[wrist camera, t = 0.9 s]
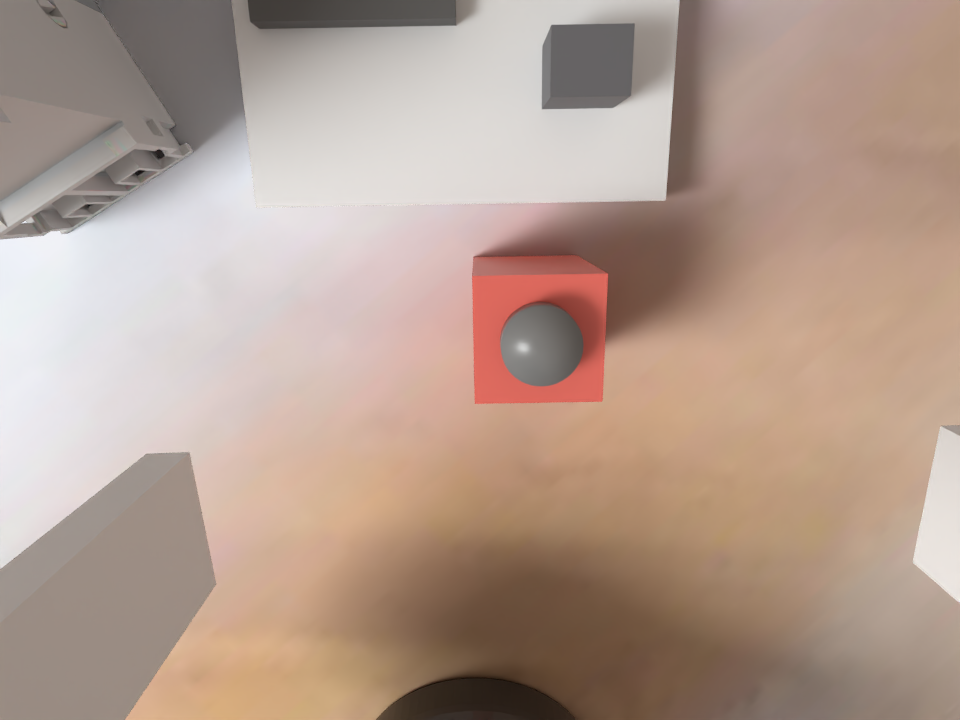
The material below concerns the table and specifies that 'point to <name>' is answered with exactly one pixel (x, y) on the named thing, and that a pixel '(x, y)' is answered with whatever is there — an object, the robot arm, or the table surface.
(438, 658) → the table surface
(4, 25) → the circuit breaker
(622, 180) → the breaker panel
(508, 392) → the cap
